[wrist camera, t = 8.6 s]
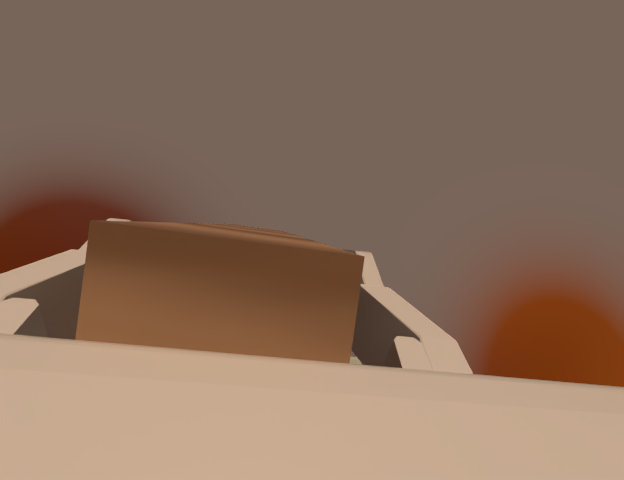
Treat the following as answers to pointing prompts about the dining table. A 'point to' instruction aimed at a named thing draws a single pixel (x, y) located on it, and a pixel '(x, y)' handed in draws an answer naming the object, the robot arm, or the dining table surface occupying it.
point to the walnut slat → (218, 290)
